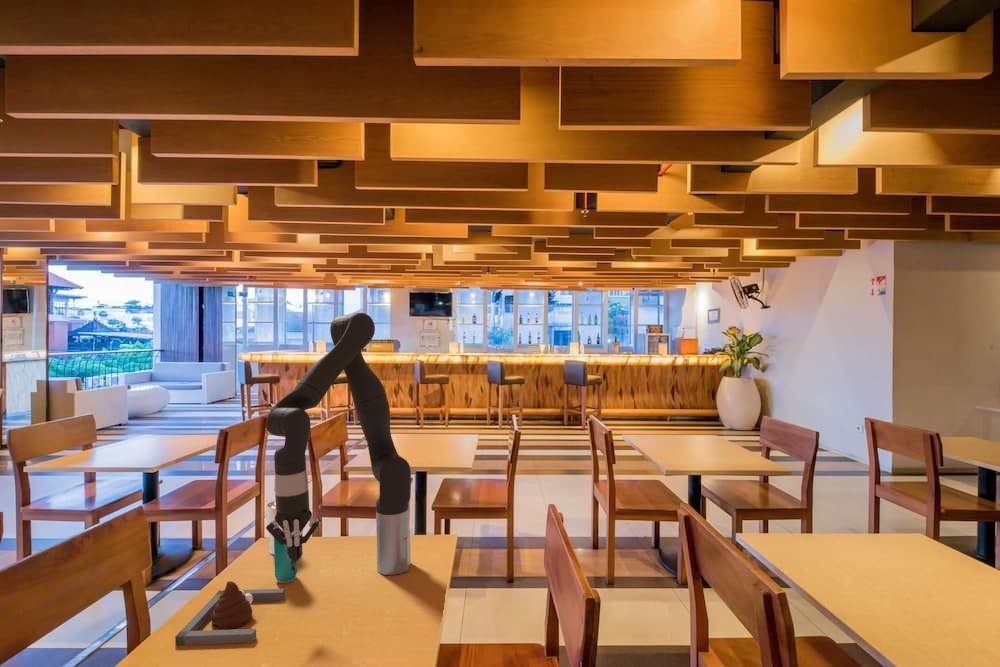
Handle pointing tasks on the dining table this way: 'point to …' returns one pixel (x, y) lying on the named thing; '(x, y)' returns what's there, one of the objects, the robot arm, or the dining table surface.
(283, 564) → the beverage can
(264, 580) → the dining table surface
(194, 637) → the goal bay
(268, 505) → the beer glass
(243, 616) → the poop emoji
